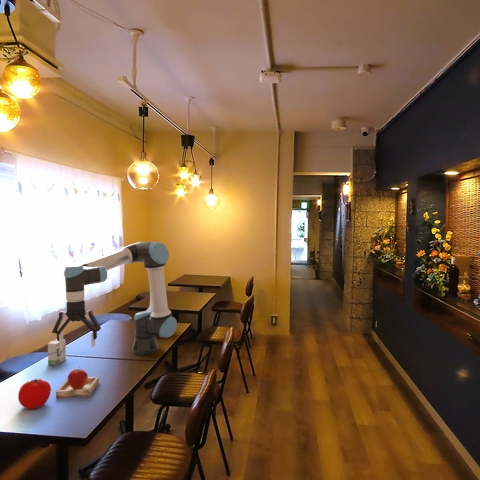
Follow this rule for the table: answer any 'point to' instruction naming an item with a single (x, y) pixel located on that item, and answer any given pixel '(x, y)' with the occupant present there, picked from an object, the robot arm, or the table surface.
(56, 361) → the ink box
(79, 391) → the tray
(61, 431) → the table surface
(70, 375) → the apple
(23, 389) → the tomato
